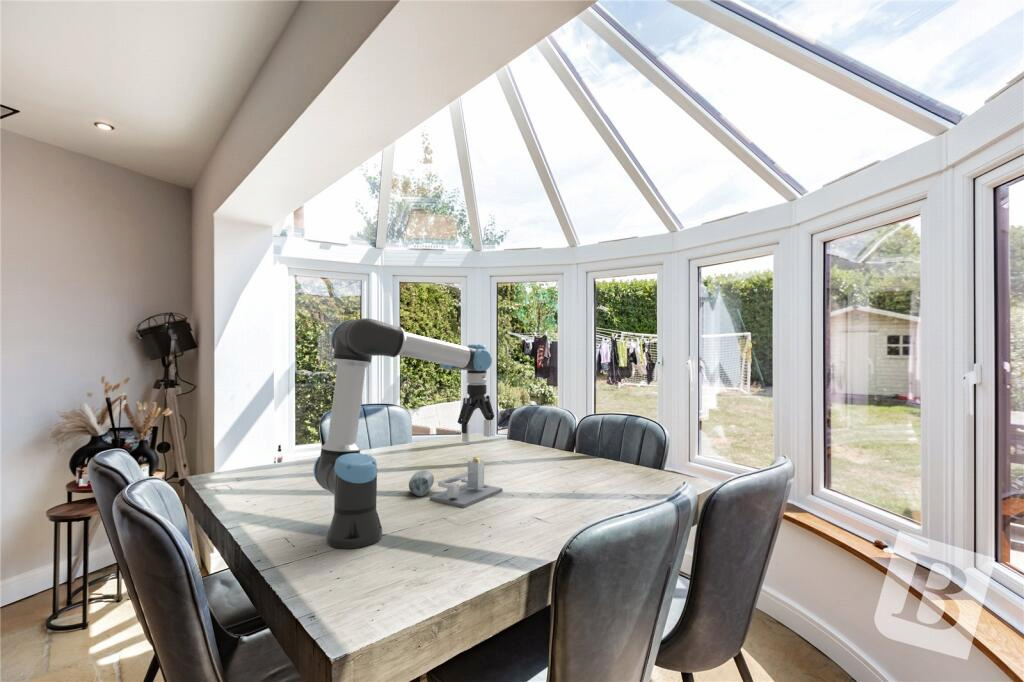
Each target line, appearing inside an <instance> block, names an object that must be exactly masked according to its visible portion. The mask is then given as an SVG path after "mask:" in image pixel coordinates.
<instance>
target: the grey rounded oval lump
mask: <svg viewBox="0 0 1024 682" xmlns="http://www.w3.org/2000/svg"><path fill="white" fill-rule="evenodd" d="M434 482H435V476H434V474H433V472H431V471H430V470H428V469H421V470H417V471H416V472H415V473H414V474H413V475H412V476H411V478H410V479H409V483H408V489H409V491H410V492H411V493H413V495H415V496H417V497H424V496H425V495H427V493H428V492H429V490H431V487H432V486H433V485H434Z"/></svg>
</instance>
